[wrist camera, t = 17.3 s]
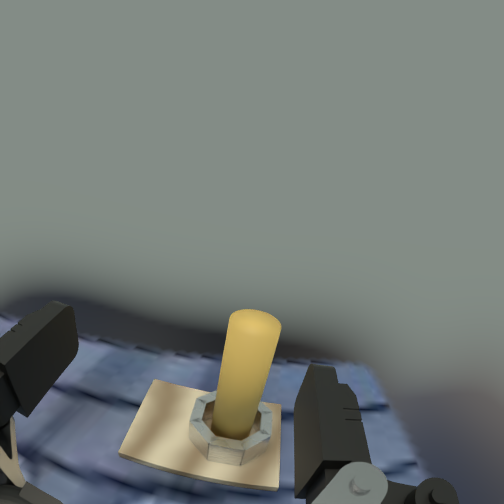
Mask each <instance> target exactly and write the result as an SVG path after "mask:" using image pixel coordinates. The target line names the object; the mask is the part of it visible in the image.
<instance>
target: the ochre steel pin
mask: <svg viewBox="0 0 504 504" xmlns="http://www.w3.org/2000/svg"><path fill="white" fill-rule="evenodd" d="M280 331H281V324H280V322H279V321H278V320H277V319H276V318H275V317H273V316H272V315H270V314H268V313H265V312H262V311H258V310H252V309H244V310H239V311H236V312H234V313H232V314H231V316H230V319H229V325H228V330H227V336H226V342H225V347H224V353H223V359H222V365H221V370H220V376H219V382H218V388H217V393H216V399H215V405H214V411H213V417H212V423H211V429H210V430H211V431H212V432H213V434H214V435H215V436H218V437H223V438H228V439H234V440H240V441H242V440H243V439H245V438H247V437H249V435H250V432H251V429H252V425H253V422H254V419H255V416H256V413H257V410H258V406H259V403H260V400H261V397H262V393H263V390H264V387H265V383H266V380H267V377H268V373H269V370H270V366H271V363H272V359H273V356H274V352H275V349H276V345H277V342H278V338H279V335H280Z"/></svg>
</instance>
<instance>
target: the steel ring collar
mask: <svg viewBox="0 0 504 504" xmlns="http://www.w3.org/2000/svg"><path fill="white" fill-rule="evenodd" d="M216 393H217V390H216V391H213V392H211V393H208V394H206V395H203V396H200V397H198V398H196V401H195V404H194V407H193V411H192V414H191V417H190V420H189V440H190V441H191V442H192V443H193V445H194V446H195V447H196V448H197V449H198V451H199V452H200V453H201V454H202V456H203V457H204V458H205V459H206V460H207V459H208V460H207V461H212V462H217V463H222V464H228V465H234V466H242V465H244V464H246V463H247V462H249V461H251V460H253V459H254V458H256V457H258V456H260V455H261V454H263V453H264V452H265V451H266V448H267V445H268V443H269V440H270V437H271V433H272V414H273V412H272V411H271V410H270V409H269V408H268V407H267V406H266V405H264V404H263V403H262V402H261V401H260V403H259V406H258V410H257V413H256V416H255V419H254V422H253V425H252V428H254V429H255V430H256V433H255V434H253V435H251V436H249V437H247V438H245V439H243V440H242V441H240V440H234V439H228V438H223V437H218V436H215V435H214V434H213V432H212V431H211V430H210V429H209V428H208V427H207V426H206V424H205V423H204V422H205V421H207V420H209V419H212V417H213V411H214V405H215V399H216Z"/></svg>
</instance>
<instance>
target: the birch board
mask: <svg viewBox="0 0 504 504" xmlns="http://www.w3.org/2000/svg"><path fill="white" fill-rule="evenodd" d="M208 393H210V392H206V391H201V390H197V389H192V388H188V387H184V386H180V385H176V384H172V383H168V382H164V381H160V380H157V379H154V381H153V383H152V385H151V387H150V389H149V391H148V393H147V394H146V396H145V398H144V400H143V402H142V404H141V406H140V409H139V411H138V413H137V415H136V417H135V419H134V421H133V423H132V425H131V427H130V429H129V431H128V433H127V435H126V437H125V439H124V441H123V443H122V445H121V447H120V449H119V451H118V453H119V456H120V457H122V458H125V459H128V460H131V461H134V462H137V463H140V464H143V465H146V466H149V467H153V468H156V469H159V470H163V471H166V472H170V473H174V474H178V475H182V476H186V477H190V478H195V479H199V480H204V481H209V482H214V483H219V484H225V485H231V486H237V487H244V488H251V489H260V490H269V491H277V490H278V488H279V467H280V435H281V404H273V403H266V402H262V403H263V404H264V405H266V406H267V407H268V408H269V409H270V410H271V411H272V412H273V414H272V433H271V437H270V440H269V443H268V445H267V448H266V451H265V452H264V453H263V454H261V455H260V456H258V457H256V458H254V459H253V460H251V461H249V462H247V463H246V464H244V465H242V466H234V465H228V464H222V463H217V462H212V461H207V460H208V459H207V460H206V459H205V458H204V457H203V456H202V454H201V453H200V452H199V451H198V449H197V448H196V447H195V446H194V445H193V443H192V442H191V441H190V440H189V420H190V417H191V414H192V411H193V407H194V404H195V401H196V398H198V397H200V396H203V395H206V394H208ZM204 423H205V424H206V426H207V427H208V428H209V429H211V423H212V419H209V420H207V421H205V422H204ZM255 433H256V430H255V429H254V428H252V429H251V432H250V435H249V436H251V435H253V434H255Z"/></svg>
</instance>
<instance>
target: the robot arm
mask: <svg viewBox="0 0 504 504" xmlns="http://www.w3.org/2000/svg"><path fill="white" fill-rule="evenodd" d="M78 346H79V342H78V335H77V329H76V323H75V315H74V310H73V308H72V307H71V306H68V305H65V304H63V303H60V302H57V301H51V302H50V303H48V304H47V305H46V306H45V307H43V308H42V309H41V310H37V311H35V312H33V313H31V314H28V315H26V316H25V317H24V318H23V319H22V320H21V321H19V322H18V325H17V324H16V325H15V326H13V327H12V328H11V331H8V332H7V333H5V334H4V335H3V336H2V337H1V338H0V504H63V503H62V502H61V501H59V500H58V499H56V498H54V497H52V496H50V495H49V494H47V493H45V492H43V491H42V490H40V489H38V488H37V487H35V486H33V485H32V484H30V483H28V482H27V481H26V482H25V480H24V477H23V475H22V473H21V471H20V468H19V464H18V456H17V446H16V435H15V421H14V417H13V414H14V413H15V412H16V411H17V412H19V413H20V414H22V415H24V416H25V417H27V418H28V416H29V415H30V414H31V412H32V411H33V410H34V408H35V407H36V406H37V405H38V403H39V402H40V401H41V399H42V398H43V397H44V395H45V394H46V393H47V392H48V390H49V389H50V388H51V387H52V385H53V384H54V383H55V381H56V380H57V379H58V378H59V376H60V375H61V374H62V373H63V372H64V370H65V369H66V368H67V367H68V365H69V364H70V363H71V362H72V361H73V359H74V358H75V356H76V354H77V351H78ZM361 420H362V418H361V414H360V412H359V406H358V402H357V397H356V395H355V394H354V392H353V391H352V390H351V388H350V387H349V386H348V384H340V383H338V379H337V375H336V370H335V368H334V367H332V366H323V365H316V364H310V366H309V367H308V370H307V372H306V375H305V377H304V380H303V383H302V385H301V388H300V390H299V393H298V395H297V398H296V402H295V407H294V460H295V498H299V499H306V504H459V501H458V497H457V494H456V491H455V489H454V487H453V486H452V485H451V484H450V483H449V482H447V481H446V480H444V479H440V478H429V479H426V480H424V481H423V482H422V483H421V484H420V485H418V486H417V487H416V486H411V485H405V484H400V483H395V482H392V481H389V480H387V479H386V477H385V475H384V473H383V472H382V471H381V470H380V469H379V468H377V467H376V466H374V465H372V463H371V459H370V454H369V450H368V445H367V440H366V436H365V431H364V427H363V423H362V422H361Z"/></svg>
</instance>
